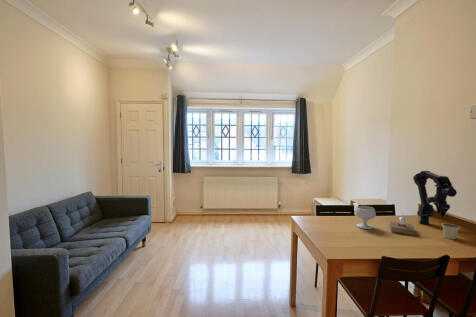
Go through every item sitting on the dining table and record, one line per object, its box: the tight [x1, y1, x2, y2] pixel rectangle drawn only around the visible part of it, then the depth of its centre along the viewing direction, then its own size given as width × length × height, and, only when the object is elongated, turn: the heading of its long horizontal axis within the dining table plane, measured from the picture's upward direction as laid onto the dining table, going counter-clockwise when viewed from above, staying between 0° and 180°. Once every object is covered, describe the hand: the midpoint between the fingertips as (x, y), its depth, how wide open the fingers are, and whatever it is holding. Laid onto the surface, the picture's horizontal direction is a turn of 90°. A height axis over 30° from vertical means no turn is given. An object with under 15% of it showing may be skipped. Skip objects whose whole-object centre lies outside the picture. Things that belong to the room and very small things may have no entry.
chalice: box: [354, 205, 377, 230], centre depth 186 cm, size 14×14×15 cm
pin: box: [399, 216, 406, 227], centre depth 176 cm, size 3×3×9 cm
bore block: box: [389, 220, 417, 237], centre depth 177 cm, size 14×14×4 cm
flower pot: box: [441, 222, 461, 240], centre depth 163 cm, size 9×9×9 cm
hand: (440, 215), depth 174 cm, fingers open, 9 cm apart
